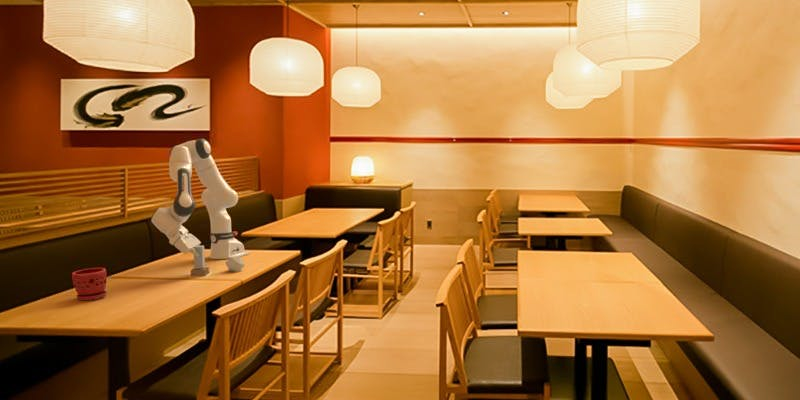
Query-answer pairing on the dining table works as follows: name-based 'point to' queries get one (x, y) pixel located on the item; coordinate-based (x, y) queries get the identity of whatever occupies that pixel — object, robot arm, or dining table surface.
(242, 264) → the die
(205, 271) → the base block
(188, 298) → the dining table surface
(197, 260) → the column
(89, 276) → the plant pot
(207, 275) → the mat
